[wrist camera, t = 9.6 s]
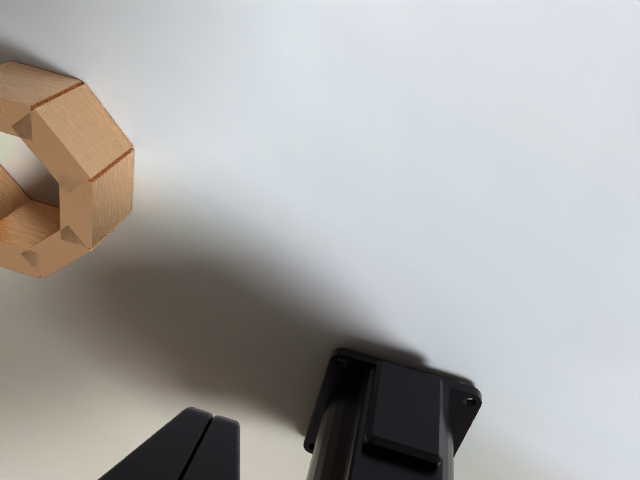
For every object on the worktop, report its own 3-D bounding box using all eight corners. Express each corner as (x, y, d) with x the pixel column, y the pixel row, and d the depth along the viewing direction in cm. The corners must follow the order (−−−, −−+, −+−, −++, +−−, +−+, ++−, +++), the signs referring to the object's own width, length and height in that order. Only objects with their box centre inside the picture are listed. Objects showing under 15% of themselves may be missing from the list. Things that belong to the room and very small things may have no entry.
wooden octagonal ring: (129, 253, 24) (91, 294, 22) (-24, 207, 25) (-78, 242, 22) (137, 96, 21) (93, 124, 18) (-43, 45, 21) (-111, 65, 18)
